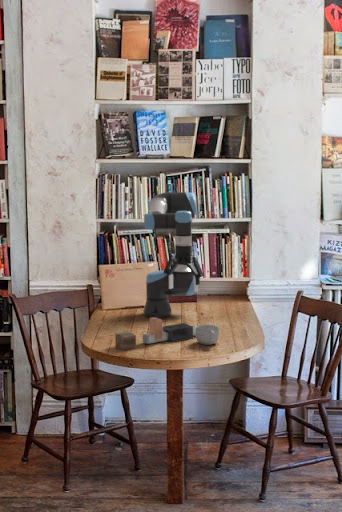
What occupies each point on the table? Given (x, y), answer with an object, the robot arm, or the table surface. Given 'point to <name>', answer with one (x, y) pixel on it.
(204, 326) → the teacup
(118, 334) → the socket
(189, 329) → the sleeve
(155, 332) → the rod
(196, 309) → the table surface
